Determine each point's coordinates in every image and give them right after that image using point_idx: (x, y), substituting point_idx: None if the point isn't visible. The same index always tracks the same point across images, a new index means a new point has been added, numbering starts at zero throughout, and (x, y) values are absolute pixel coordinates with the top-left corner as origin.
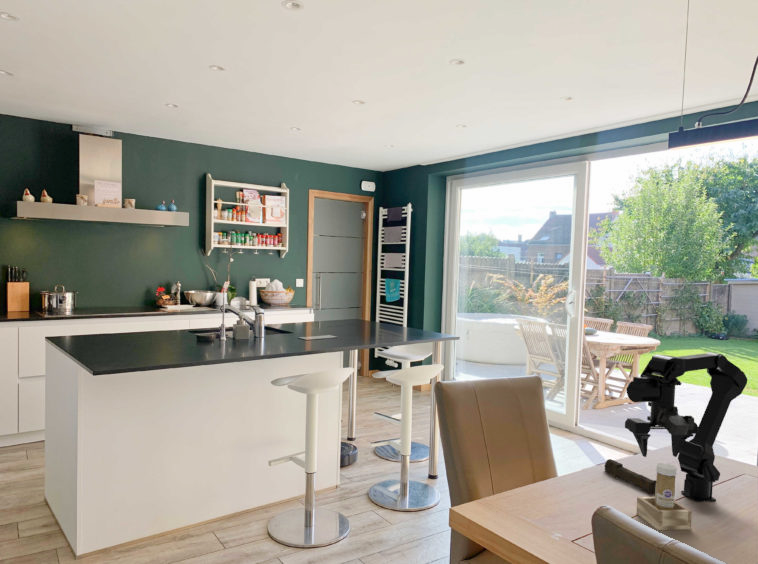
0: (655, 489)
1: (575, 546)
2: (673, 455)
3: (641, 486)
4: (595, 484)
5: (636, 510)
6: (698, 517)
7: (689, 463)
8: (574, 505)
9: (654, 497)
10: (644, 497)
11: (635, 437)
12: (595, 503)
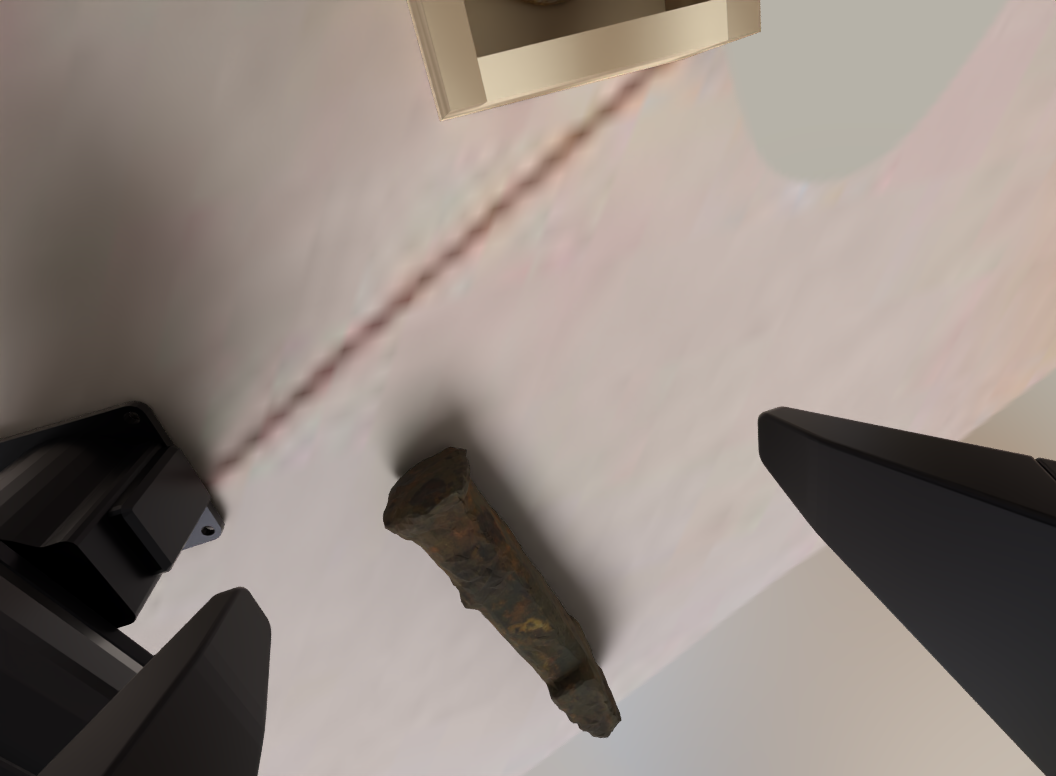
0: (414, 476)
1: None
2: (264, 620)
3: (489, 506)
4: (724, 486)
5: (695, 54)
6: (192, 76)
7: (31, 652)
8: (999, 134)
9: (602, 51)
10: (699, 31)
11: None
12: (862, 197)
